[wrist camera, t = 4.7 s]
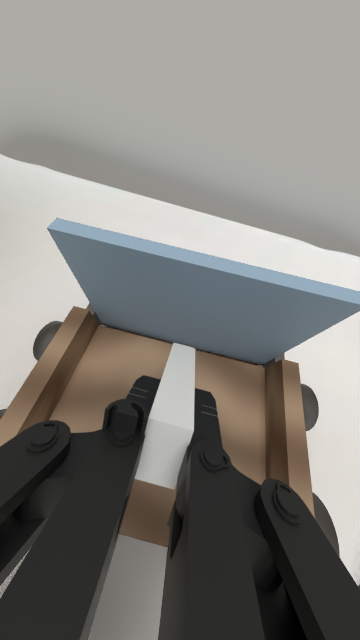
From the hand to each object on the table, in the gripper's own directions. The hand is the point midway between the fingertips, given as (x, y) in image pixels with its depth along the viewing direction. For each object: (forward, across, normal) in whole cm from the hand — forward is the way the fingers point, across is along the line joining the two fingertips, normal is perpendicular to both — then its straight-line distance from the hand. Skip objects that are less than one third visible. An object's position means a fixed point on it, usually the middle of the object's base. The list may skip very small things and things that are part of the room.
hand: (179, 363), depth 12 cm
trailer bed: (+3, 0, -7) cm, 8 cm away
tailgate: (+8, 0, -1) cm, 8 cm away
